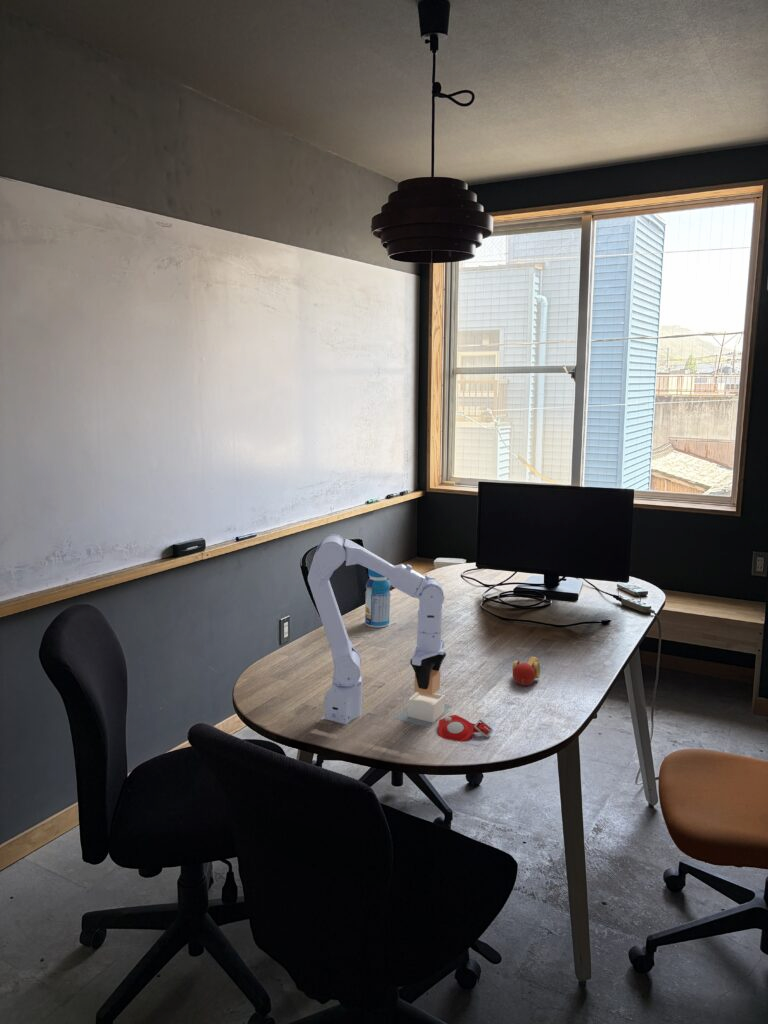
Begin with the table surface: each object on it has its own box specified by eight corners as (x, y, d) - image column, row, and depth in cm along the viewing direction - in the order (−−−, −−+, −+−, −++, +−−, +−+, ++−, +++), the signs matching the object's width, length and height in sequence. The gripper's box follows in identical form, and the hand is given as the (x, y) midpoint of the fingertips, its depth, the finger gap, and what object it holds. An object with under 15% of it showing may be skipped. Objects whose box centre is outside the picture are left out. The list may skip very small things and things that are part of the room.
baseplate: (429, 730, 177) (429, 727, 177) (394, 721, 181) (394, 718, 181) (452, 708, 189) (452, 705, 189) (419, 701, 193) (419, 698, 193)
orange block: (431, 695, 179) (432, 677, 179) (414, 691, 181) (414, 673, 181) (439, 689, 183) (440, 671, 183) (422, 685, 186) (423, 667, 185)
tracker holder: (446, 744, 168) (428, 716, 177) (448, 759, 170) (430, 731, 179) (495, 726, 171) (475, 700, 180) (496, 741, 173) (476, 714, 182)
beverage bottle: (381, 630, 249) (382, 570, 245) (359, 625, 253) (360, 566, 250) (394, 623, 256) (396, 565, 252) (373, 619, 260) (374, 562, 257)
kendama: (516, 668, 221) (504, 681, 205) (522, 648, 221) (510, 659, 204) (542, 677, 219) (532, 691, 202) (548, 656, 218) (538, 669, 201)
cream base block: (433, 722, 179) (433, 705, 178) (408, 716, 182) (408, 699, 181) (444, 712, 185) (444, 695, 184) (419, 706, 188) (420, 689, 187)
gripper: (432, 641, 172) (430, 698, 174) (456, 624, 185) (454, 677, 187) (404, 636, 175) (402, 692, 177) (429, 620, 188) (428, 672, 190)
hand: (427, 684), depth 182 cm, fingers closed on orange block, 5 cm apart
